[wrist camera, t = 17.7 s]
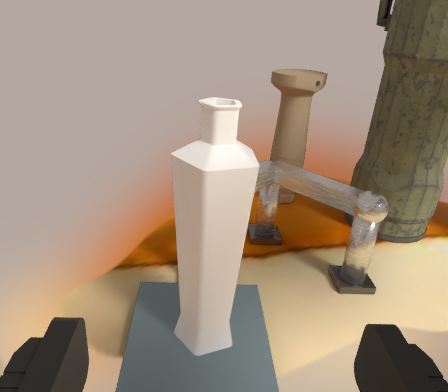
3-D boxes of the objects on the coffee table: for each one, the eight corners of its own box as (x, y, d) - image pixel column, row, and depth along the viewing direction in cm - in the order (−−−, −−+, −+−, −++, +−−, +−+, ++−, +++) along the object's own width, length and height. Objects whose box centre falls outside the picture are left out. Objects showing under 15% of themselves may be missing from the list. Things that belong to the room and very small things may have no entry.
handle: (248, 198, 46) (263, 70, 40) (282, 186, 51) (300, 68, 44) (279, 213, 43) (300, 77, 37) (312, 199, 47) (336, 74, 41)
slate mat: (255, 295, 30) (257, 285, 30) (278, 414, 21) (281, 402, 21) (140, 292, 30) (140, 282, 29) (114, 414, 21) (113, 402, 20)
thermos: (435, 259, 37) (623, -242, 22) (320, 219, 43) (408, -199, 28) (447, 225, 44) (597, -176, 29) (346, 195, 50) (428, -153, 35)
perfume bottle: (158, 351, 23) (158, 105, 17) (181, 304, 27) (189, 90, 21) (231, 369, 23) (261, 118, 16) (244, 318, 26) (272, 100, 20)
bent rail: (336, 231, 41) (353, 156, 37) (374, 294, 32) (402, 202, 28) (184, 226, 39) (187, 147, 36) (179, 289, 30) (183, 192, 27)
